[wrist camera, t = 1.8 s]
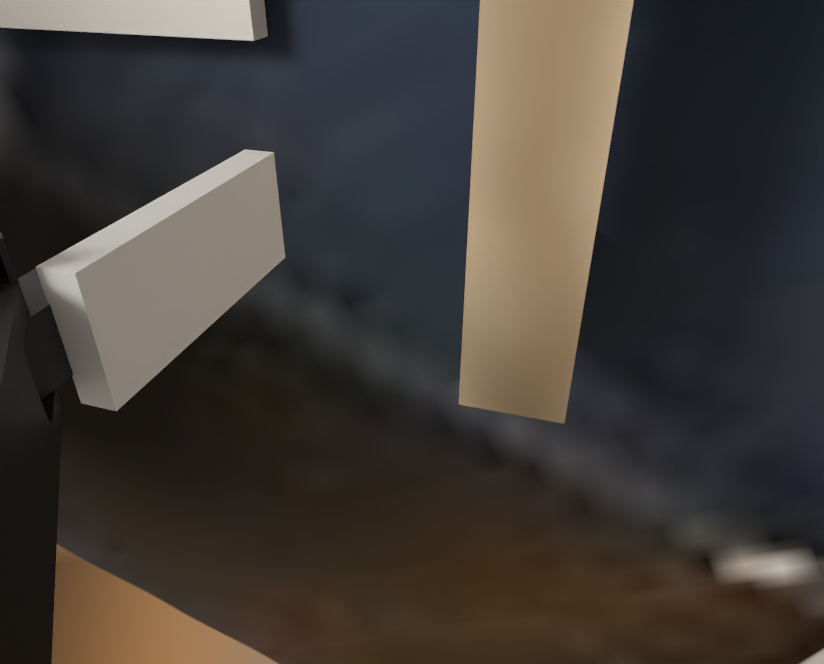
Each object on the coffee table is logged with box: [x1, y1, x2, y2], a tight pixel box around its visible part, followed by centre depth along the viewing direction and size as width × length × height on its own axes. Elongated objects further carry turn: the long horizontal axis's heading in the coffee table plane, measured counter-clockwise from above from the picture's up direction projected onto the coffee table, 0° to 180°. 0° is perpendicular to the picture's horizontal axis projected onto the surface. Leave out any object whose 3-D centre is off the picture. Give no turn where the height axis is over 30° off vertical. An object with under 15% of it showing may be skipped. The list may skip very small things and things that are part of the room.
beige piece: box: [459, 0, 634, 424], centre depth 17 cm, size 14×17×7 cm
